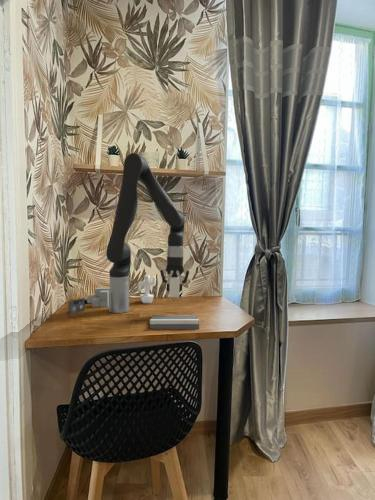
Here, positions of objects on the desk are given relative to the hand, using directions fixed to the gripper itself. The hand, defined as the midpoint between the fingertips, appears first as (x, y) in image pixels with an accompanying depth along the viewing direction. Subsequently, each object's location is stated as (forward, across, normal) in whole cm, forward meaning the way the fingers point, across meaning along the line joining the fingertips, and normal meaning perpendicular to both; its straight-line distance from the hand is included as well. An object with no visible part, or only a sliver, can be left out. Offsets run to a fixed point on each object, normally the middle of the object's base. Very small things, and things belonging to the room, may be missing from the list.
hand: (174, 291), depth 145 cm
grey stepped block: (+12, -40, +20) cm, 46 cm away
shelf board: (+11, 0, -14) cm, 18 cm away
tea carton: (+2, 0, 0) cm, 2 cm away
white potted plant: (+12, -14, +24) cm, 30 cm away
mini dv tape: (+12, -46, +5) cm, 48 cm away
